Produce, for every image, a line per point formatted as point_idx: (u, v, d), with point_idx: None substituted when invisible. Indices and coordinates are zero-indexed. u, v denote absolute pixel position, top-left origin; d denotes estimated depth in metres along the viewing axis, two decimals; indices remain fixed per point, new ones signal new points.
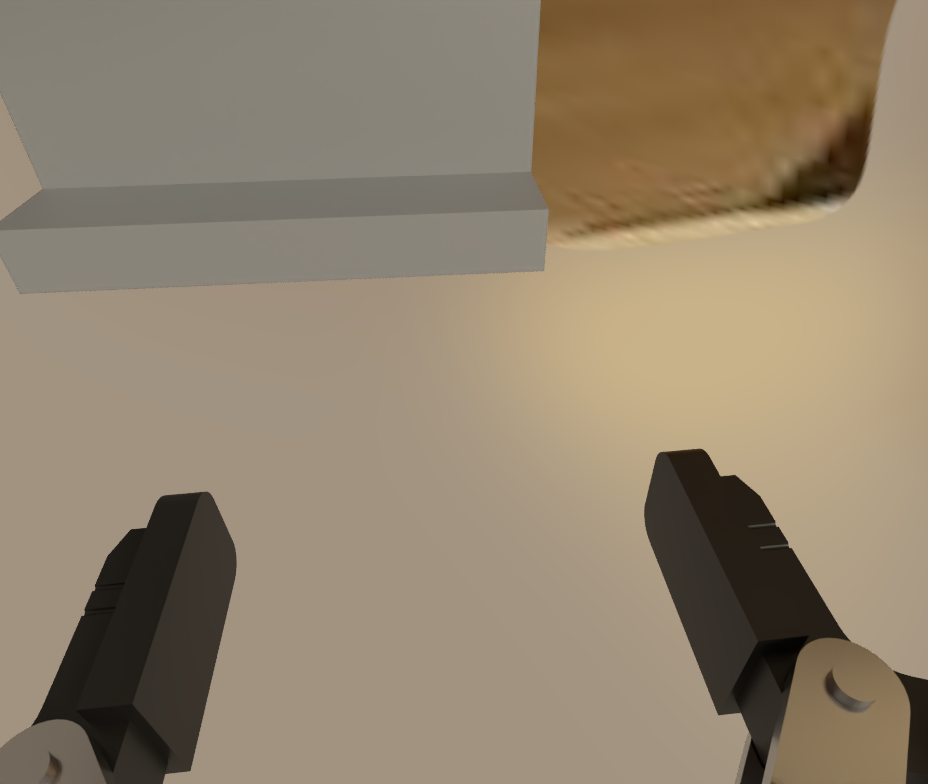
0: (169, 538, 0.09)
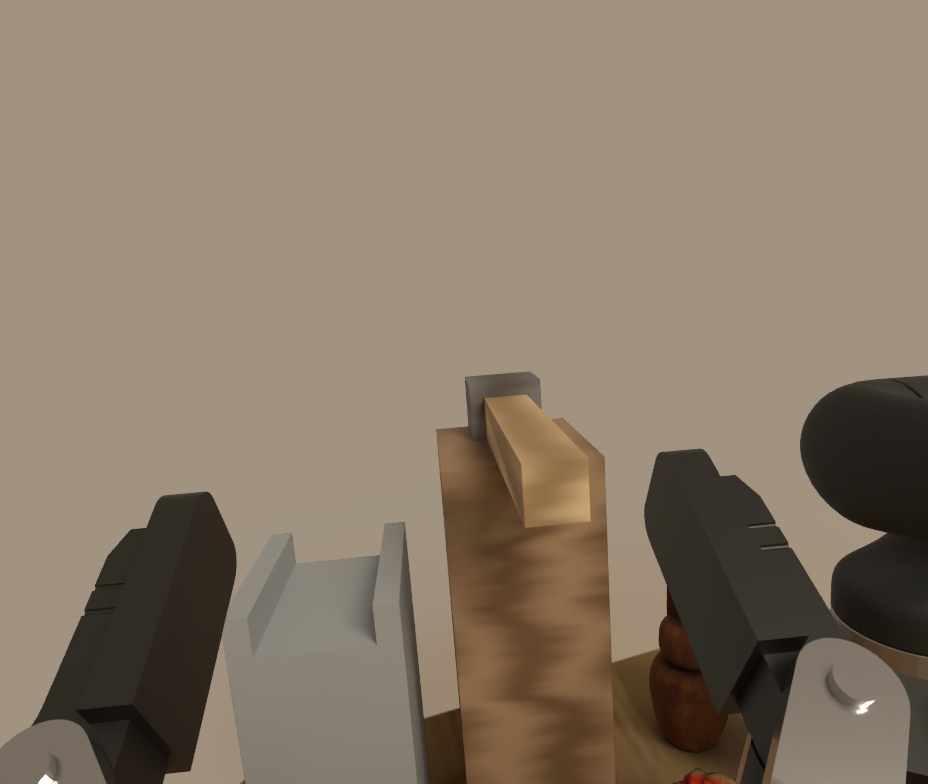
0: (169, 538, 0.09)
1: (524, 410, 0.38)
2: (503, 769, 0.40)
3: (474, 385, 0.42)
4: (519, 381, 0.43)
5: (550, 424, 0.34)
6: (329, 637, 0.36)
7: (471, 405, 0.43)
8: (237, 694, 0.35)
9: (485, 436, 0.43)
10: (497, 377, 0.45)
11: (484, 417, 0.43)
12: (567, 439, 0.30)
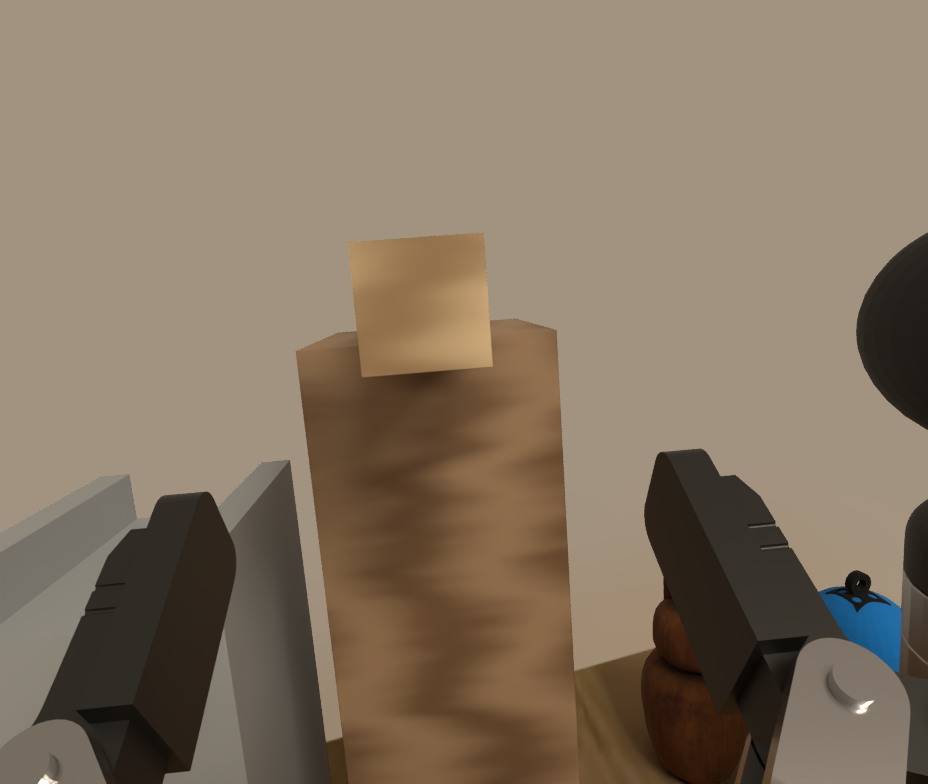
0: (169, 538, 0.09)
1: None
2: None
3: None
4: None
5: None
6: None
7: None
8: None
9: None
10: None
11: None
12: None
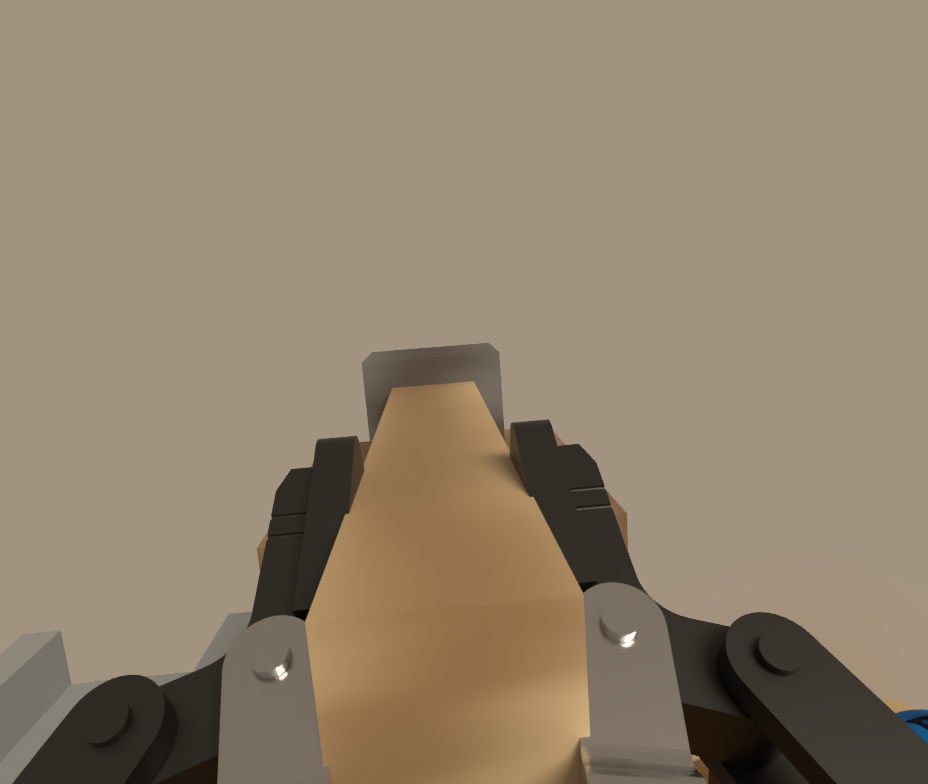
0: (336, 473, 0.10)
1: (451, 410, 0.17)
2: None
3: (372, 363, 0.22)
4: (460, 356, 0.22)
5: (493, 444, 0.13)
6: None
7: (367, 401, 0.22)
8: None
9: None
10: (425, 351, 0.24)
11: None
12: (524, 495, 0.10)
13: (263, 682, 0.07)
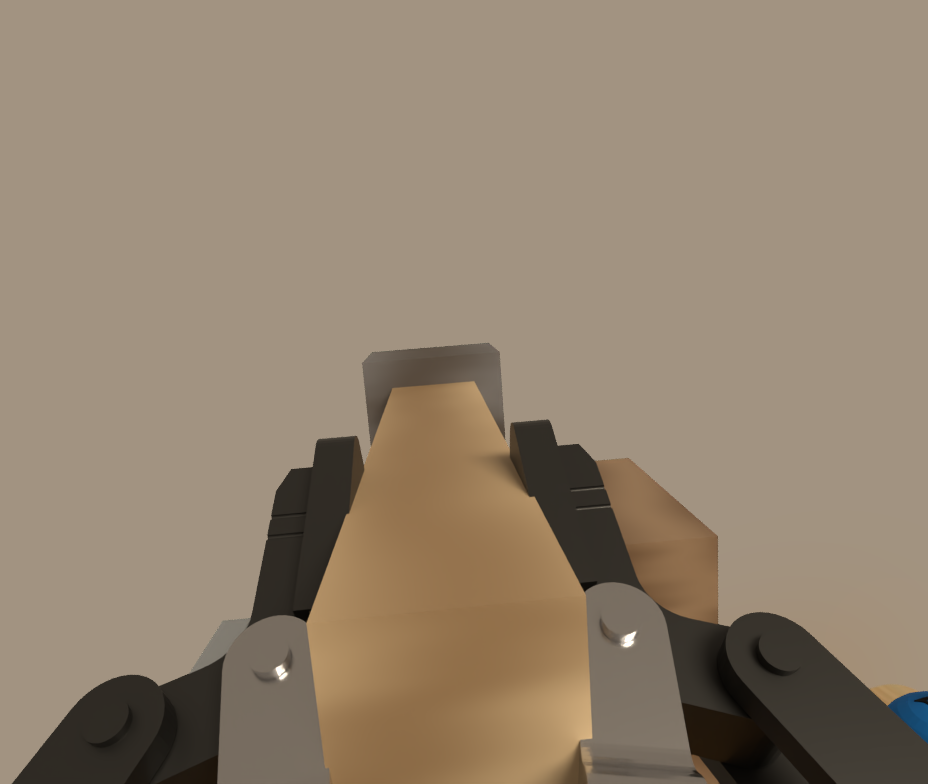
0: (336, 473, 0.10)
1: (452, 410, 0.17)
2: None
3: (373, 363, 0.22)
4: (460, 356, 0.22)
5: (494, 444, 0.13)
6: None
7: (368, 402, 0.22)
8: None
9: None
10: (426, 351, 0.24)
11: None
12: (525, 495, 0.10)
13: (263, 682, 0.07)
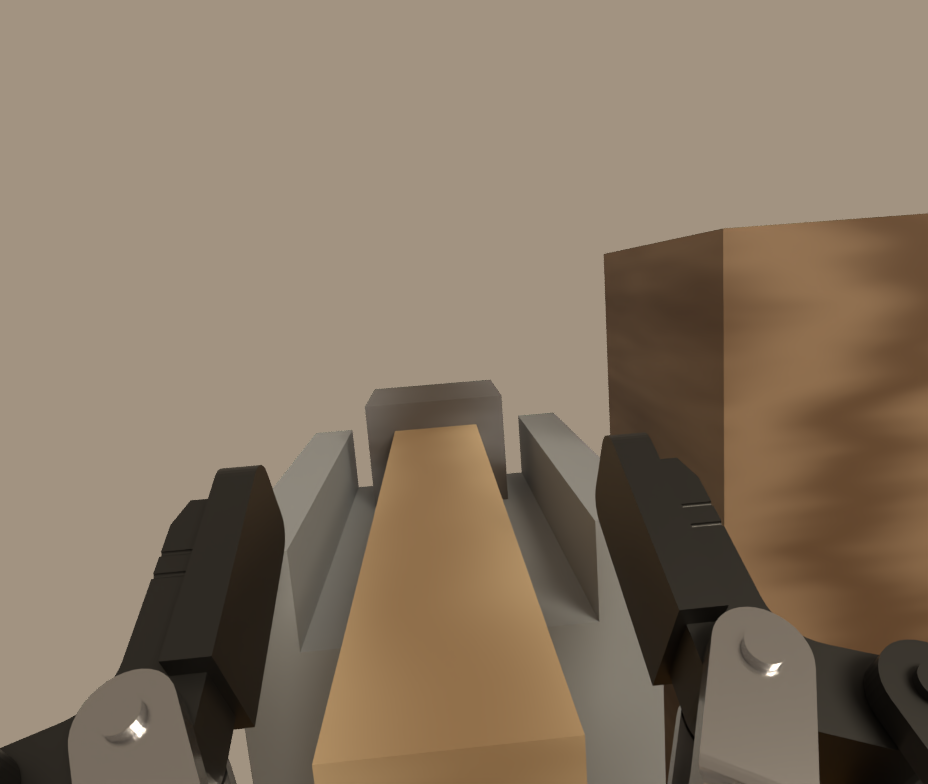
0: (231, 507, 0.10)
1: (454, 465, 0.17)
2: None
3: (376, 407, 0.22)
4: (462, 399, 0.22)
5: (495, 516, 0.13)
6: None
7: (371, 444, 0.22)
8: (261, 740, 0.14)
9: None
10: (428, 390, 0.25)
11: None
12: (526, 591, 0.10)
13: (110, 744, 0.07)
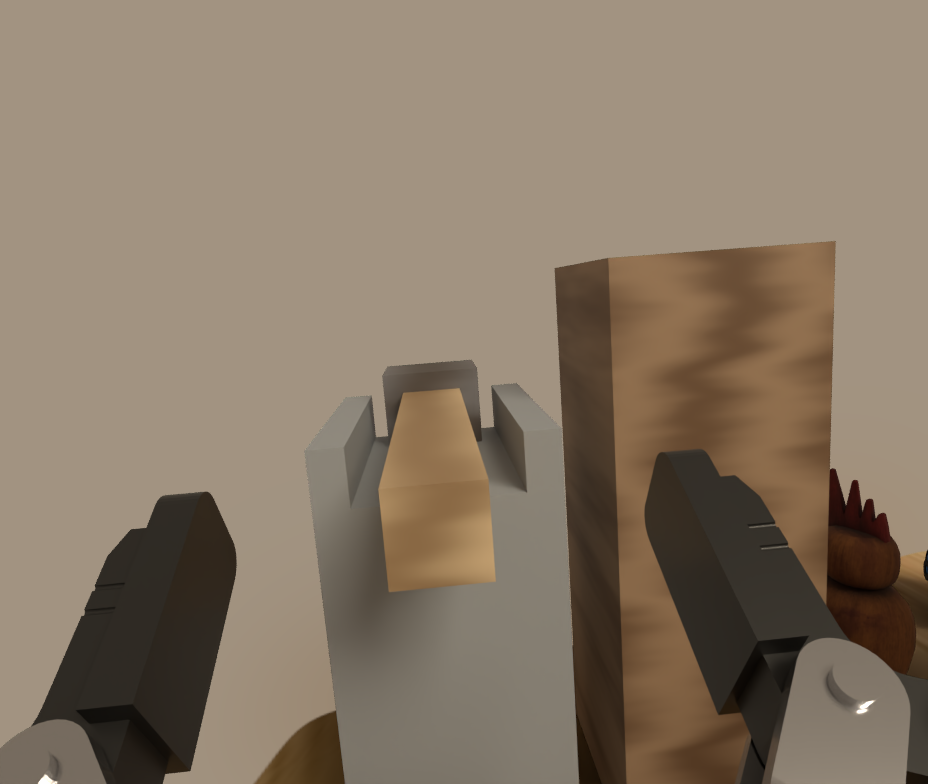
0: (169, 538, 0.09)
1: (442, 407, 0.27)
2: (674, 692, 0.29)
3: (390, 376, 0.32)
4: (450, 370, 0.32)
5: (464, 426, 0.23)
6: None
7: (386, 402, 0.32)
8: (326, 563, 0.24)
9: None
10: (426, 366, 0.34)
11: None
12: (474, 449, 0.20)
13: None
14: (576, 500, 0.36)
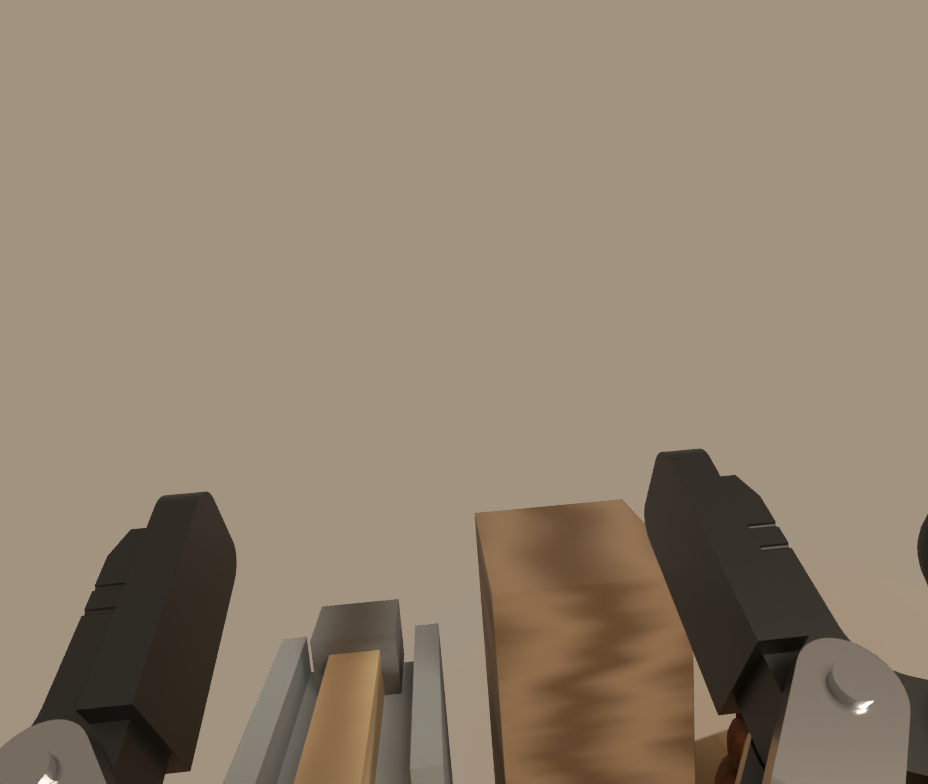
0: (169, 538, 0.09)
1: (352, 710, 0.31)
2: None
3: (317, 641, 0.36)
4: (371, 635, 0.36)
5: (356, 772, 0.27)
6: None
7: (314, 663, 0.36)
8: None
9: None
10: (354, 615, 0.38)
11: None
12: None
13: None
14: None
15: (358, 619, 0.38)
